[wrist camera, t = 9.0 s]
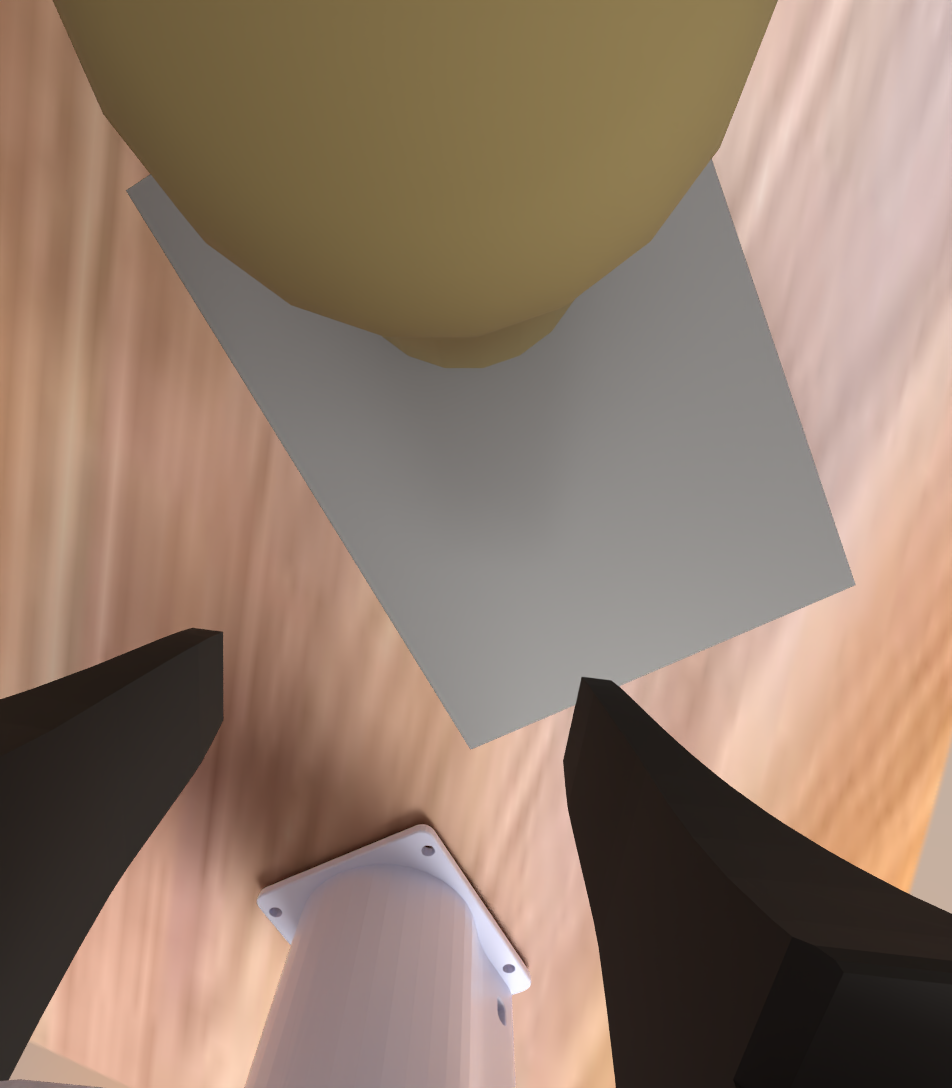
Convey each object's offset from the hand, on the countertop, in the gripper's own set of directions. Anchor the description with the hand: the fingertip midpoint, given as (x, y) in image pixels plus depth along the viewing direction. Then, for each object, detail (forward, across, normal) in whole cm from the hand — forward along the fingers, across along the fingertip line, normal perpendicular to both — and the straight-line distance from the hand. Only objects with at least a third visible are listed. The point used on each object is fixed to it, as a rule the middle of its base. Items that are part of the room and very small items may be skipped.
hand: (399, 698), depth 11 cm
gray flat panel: (+8, -2, -6) cm, 10 cm away
